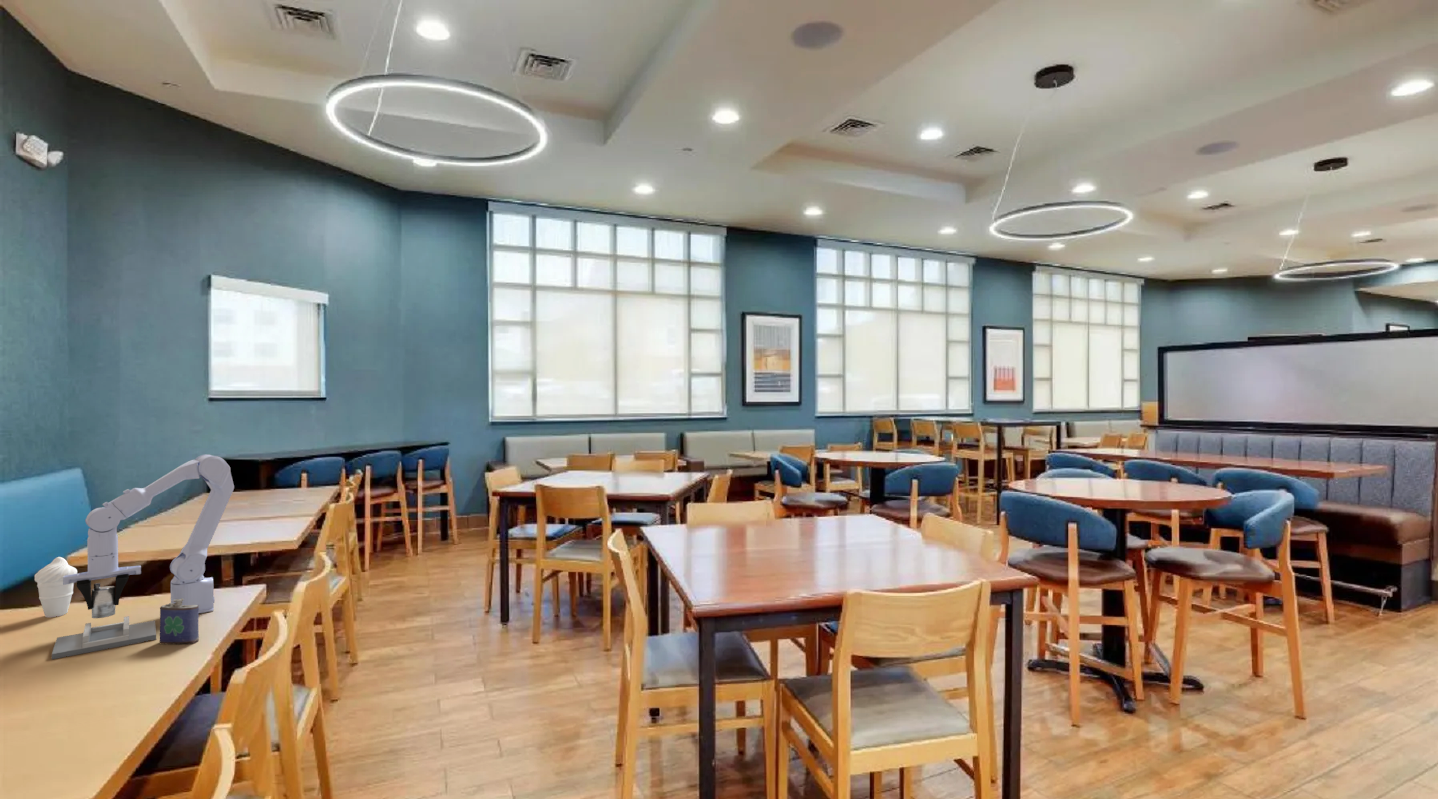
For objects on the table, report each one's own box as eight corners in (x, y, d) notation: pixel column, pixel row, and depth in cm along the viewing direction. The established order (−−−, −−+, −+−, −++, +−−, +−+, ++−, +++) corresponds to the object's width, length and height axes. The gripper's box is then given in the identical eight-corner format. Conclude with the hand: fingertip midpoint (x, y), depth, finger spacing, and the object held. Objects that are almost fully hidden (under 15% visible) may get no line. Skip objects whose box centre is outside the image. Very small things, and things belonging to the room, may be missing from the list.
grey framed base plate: (154, 624, 169) (154, 610, 169) (156, 639, 159) (156, 624, 159) (57, 642, 157) (57, 627, 157) (51, 659, 146) (51, 643, 146)
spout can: (115, 611, 169) (115, 579, 169) (115, 615, 166) (114, 582, 166) (92, 615, 166) (92, 582, 166) (91, 619, 163) (91, 586, 163)
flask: (201, 640, 158) (201, 597, 158) (191, 645, 155) (190, 600, 155) (165, 639, 158) (165, 596, 158) (154, 644, 156) (154, 600, 156)
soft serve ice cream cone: (54, 620, 173) (54, 561, 173) (24, 620, 173) (24, 561, 173) (86, 610, 181) (86, 553, 181) (57, 609, 181) (57, 553, 181)
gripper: (140, 547, 174) (141, 596, 174) (64, 556, 164) (64, 609, 164) (140, 551, 168) (141, 602, 169) (62, 561, 159) (62, 615, 159)
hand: (103, 606), depth 166 cm, fingers closed on spout can, 4 cm apart
